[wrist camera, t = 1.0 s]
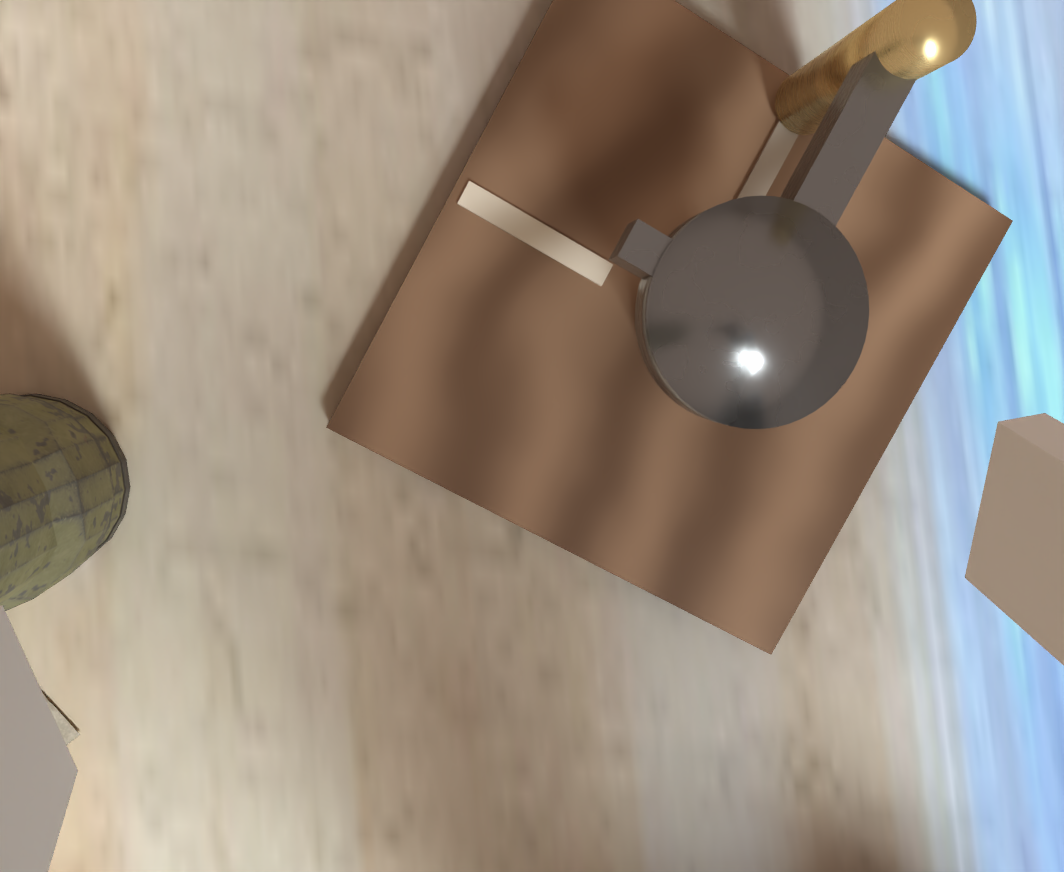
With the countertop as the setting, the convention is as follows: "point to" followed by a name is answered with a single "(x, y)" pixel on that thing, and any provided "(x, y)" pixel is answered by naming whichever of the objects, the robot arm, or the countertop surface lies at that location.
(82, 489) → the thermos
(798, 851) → the countertop surface
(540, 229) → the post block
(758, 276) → the crank handle
